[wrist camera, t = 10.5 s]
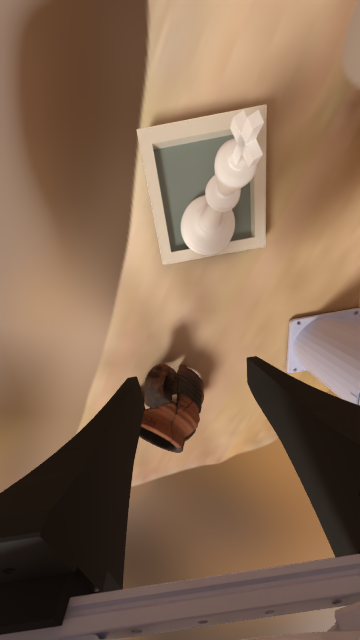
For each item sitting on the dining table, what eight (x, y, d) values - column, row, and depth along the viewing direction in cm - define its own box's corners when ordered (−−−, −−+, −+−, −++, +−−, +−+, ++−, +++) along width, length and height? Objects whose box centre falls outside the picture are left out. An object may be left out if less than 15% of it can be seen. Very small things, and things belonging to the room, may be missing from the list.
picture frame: (254, 123, 15) (266, 104, 13) (255, 247, 18) (265, 246, 16) (140, 145, 15) (136, 129, 13) (163, 264, 18) (162, 265, 17)
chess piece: (218, 187, 15) (291, -5, 5) (242, 237, 16) (347, 150, 6) (170, 216, 16) (158, 87, 6) (197, 265, 16) (226, 223, 6)
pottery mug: (212, 399, 26) (198, 465, 20) (159, 387, 30) (134, 440, 24) (199, 344, 19) (171, 421, 13) (132, 338, 23) (88, 395, 17)
